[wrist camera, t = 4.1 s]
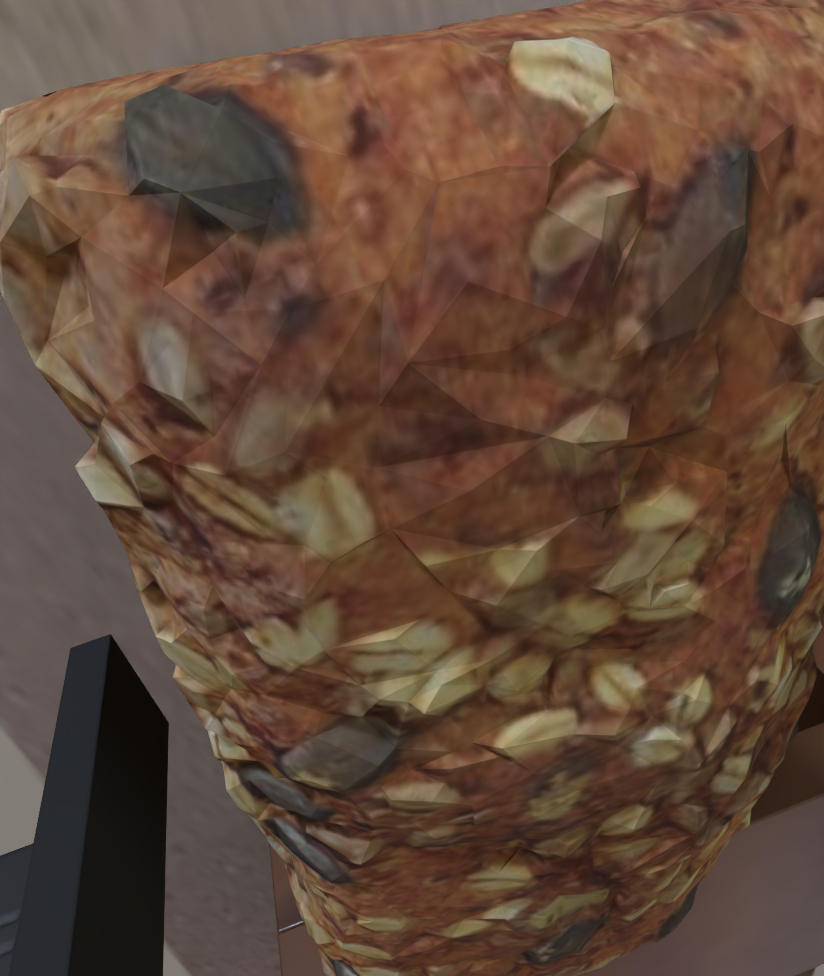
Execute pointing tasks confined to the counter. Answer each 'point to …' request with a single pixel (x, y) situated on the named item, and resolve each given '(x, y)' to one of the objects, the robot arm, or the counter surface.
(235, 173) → the bread
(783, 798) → the shelf
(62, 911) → the robot arm
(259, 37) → the counter surface
